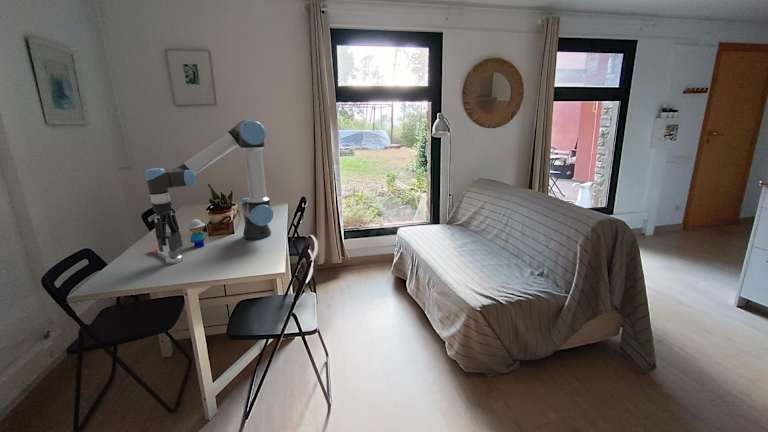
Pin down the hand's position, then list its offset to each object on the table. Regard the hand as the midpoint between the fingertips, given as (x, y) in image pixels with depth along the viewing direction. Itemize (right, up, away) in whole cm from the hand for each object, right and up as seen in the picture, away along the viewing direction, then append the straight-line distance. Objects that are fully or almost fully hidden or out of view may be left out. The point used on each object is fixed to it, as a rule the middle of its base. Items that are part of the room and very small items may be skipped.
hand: (171, 248), depth 164 cm
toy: (+2, -1, +22) cm, 22 cm away
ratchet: (-8, -5, +8) cm, 13 cm away
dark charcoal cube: (0, 0, 0) cm, 0 cm away
